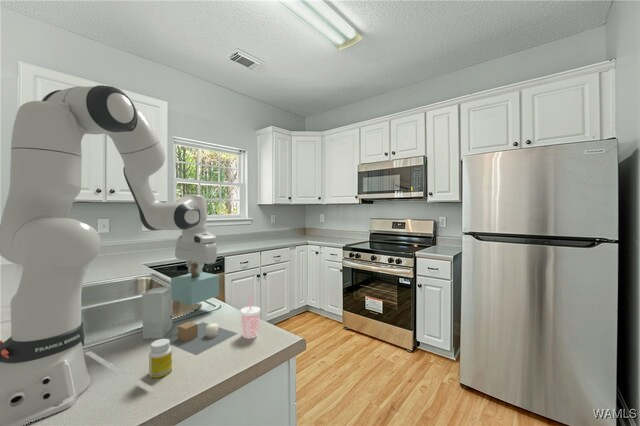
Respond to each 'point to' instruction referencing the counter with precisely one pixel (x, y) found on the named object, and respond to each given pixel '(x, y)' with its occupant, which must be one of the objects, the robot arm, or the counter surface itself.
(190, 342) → the mat
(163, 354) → the supplement bottle
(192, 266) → the cover
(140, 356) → the counter surface
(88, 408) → the counter surface
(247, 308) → the beverage cup
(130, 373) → the counter surface
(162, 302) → the skincare box
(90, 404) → the counter surface
